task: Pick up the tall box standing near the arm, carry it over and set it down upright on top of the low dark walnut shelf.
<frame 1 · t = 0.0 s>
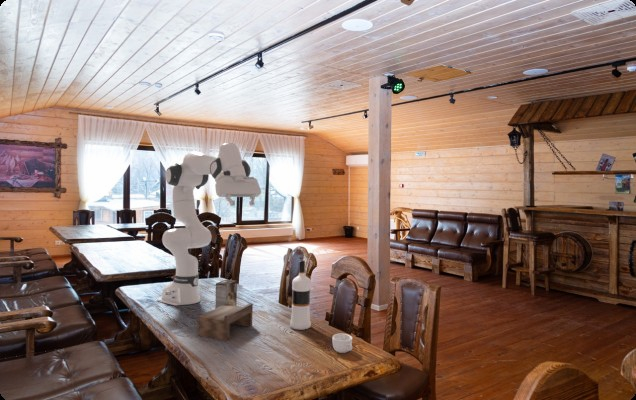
hand: (242, 205, 178), 54 cm above the table, tool tilted 30°, fingers open, 8 cm apart
teacup: (343, 352, 163), on the table
walnut shelf: (226, 330, 181), on the table
vodka: (300, 327, 189), on the table
coffee box: (225, 315, 202), on the table
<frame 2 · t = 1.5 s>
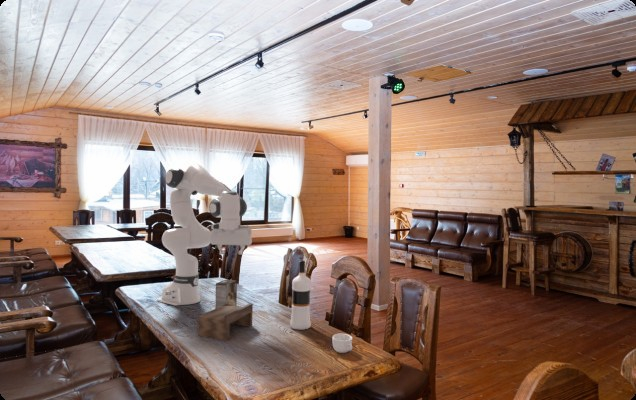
hand: (231, 254, 199), 30 cm above the table, tool pointing down, fingers open, 8 cm apart
nothing on the table moved.
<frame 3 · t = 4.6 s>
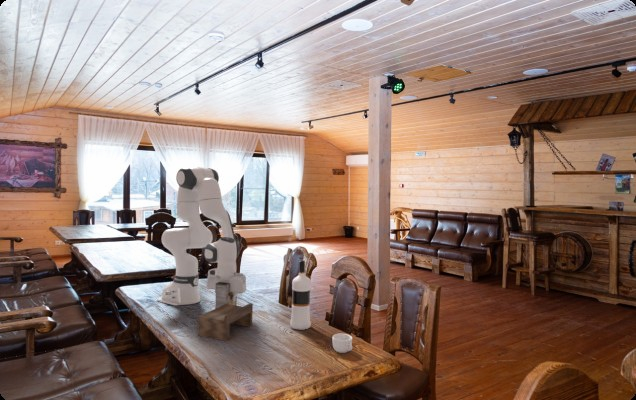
hand: (226, 300, 202), 7 cm above the table, tool pointing down, fingers closed on coffee box, 6 cm apart
coffee box: (225, 315, 202), on the table, touching gripper
everything else where it was.
when the fingers open (16 cm above the table, at t = 14.3 s): coffee box stays where it is, resting on walnut shelf.
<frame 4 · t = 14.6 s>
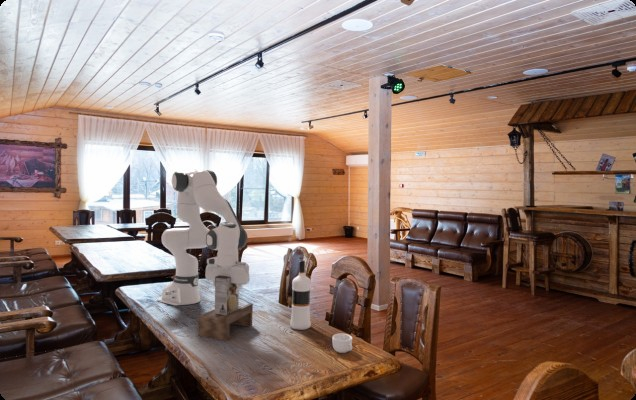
hand: (227, 292, 181), 17 cm above the table, tool pointing down, fingers open, 8 cm apart
coffee box: (226, 312, 181), point 8 cm above the table, touching walnut shelf
everything else where it was.
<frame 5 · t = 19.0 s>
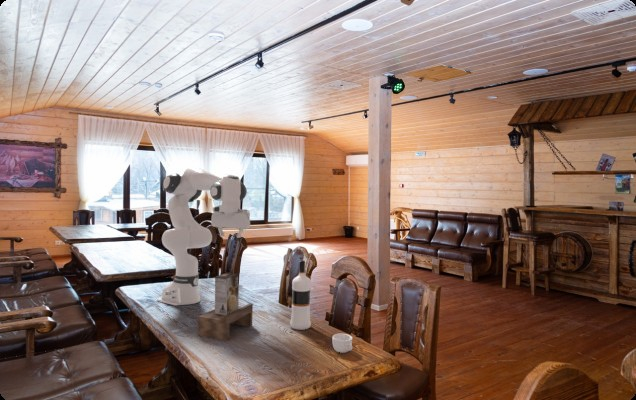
hand: (230, 236, 205), 37 cm above the table, tool pointing down, fingers open, 8 cm apart
nothing on the table moved.
at the end: coffee box inside the target area on the walnut shelf (0.2 cm from its centre), point 7.8 cm above the walnut shelf's base; coffee box tilted 0°; the gripper is holding nothing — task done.
